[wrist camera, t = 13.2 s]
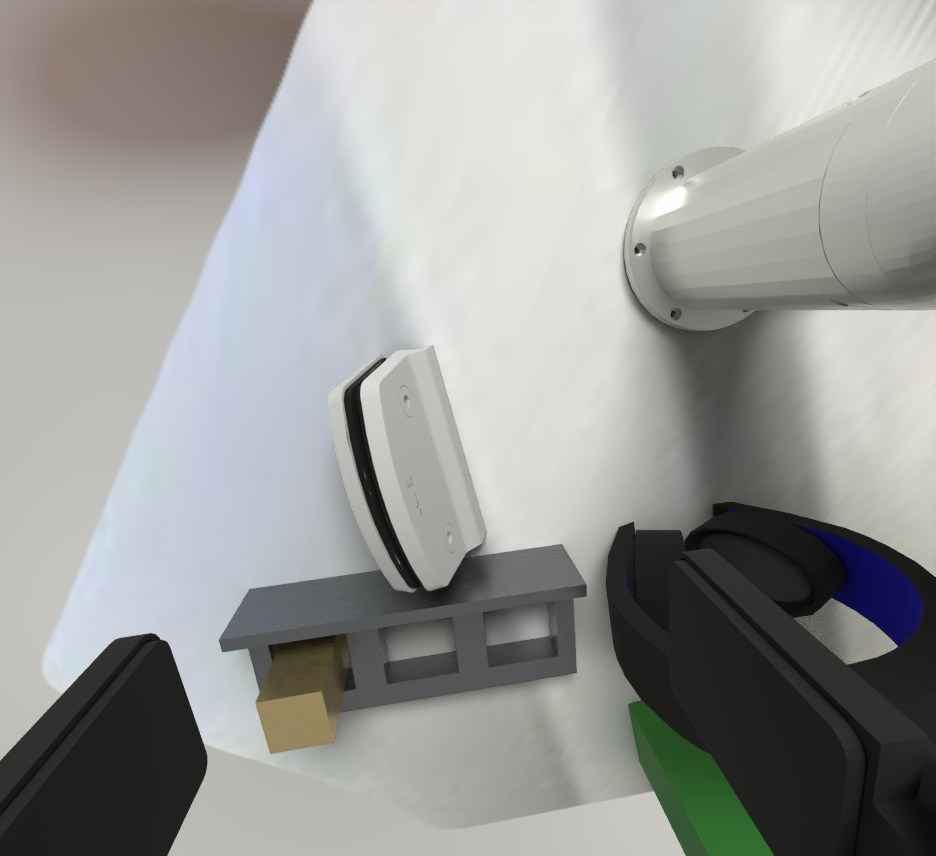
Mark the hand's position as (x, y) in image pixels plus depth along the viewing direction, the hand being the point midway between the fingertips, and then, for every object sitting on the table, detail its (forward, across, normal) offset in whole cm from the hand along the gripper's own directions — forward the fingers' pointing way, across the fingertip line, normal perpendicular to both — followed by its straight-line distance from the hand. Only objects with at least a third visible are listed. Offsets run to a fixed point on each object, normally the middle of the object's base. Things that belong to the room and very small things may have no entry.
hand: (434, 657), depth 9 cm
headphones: (+28, -19, +16) cm, 38 cm away
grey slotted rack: (+27, +4, +20) cm, 34 cm away
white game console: (+28, +2, +5) cm, 29 cm away
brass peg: (+27, +12, +20) cm, 36 cm away
